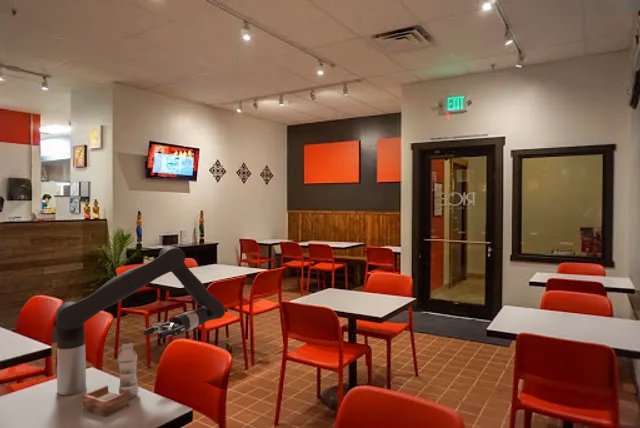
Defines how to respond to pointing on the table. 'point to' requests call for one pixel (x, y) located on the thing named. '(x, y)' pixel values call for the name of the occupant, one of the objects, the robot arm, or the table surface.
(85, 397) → the dock
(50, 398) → the table surface
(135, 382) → the plastic bottle
